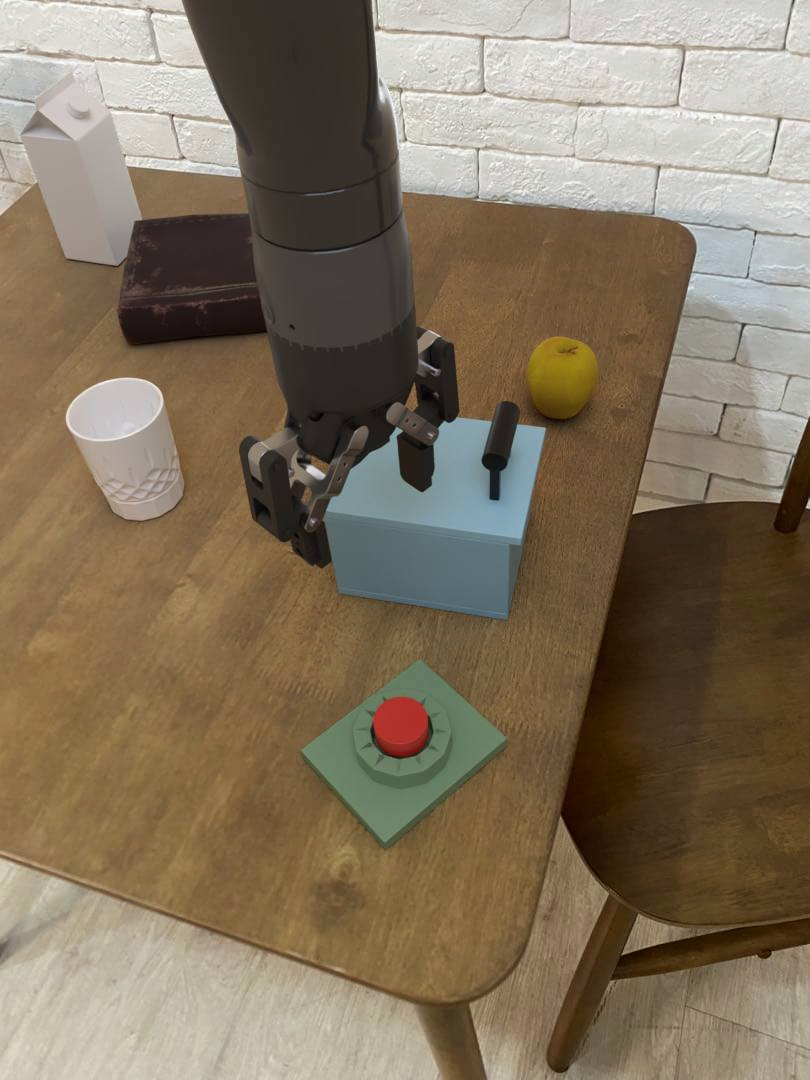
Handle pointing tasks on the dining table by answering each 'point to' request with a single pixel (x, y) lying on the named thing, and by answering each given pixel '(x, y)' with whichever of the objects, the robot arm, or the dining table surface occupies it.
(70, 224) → the milk carton
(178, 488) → the white cup
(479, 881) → the dining table surface
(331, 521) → the box
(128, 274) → the diary
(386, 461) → the lid
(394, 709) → the button
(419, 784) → the green button base
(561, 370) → the apple
